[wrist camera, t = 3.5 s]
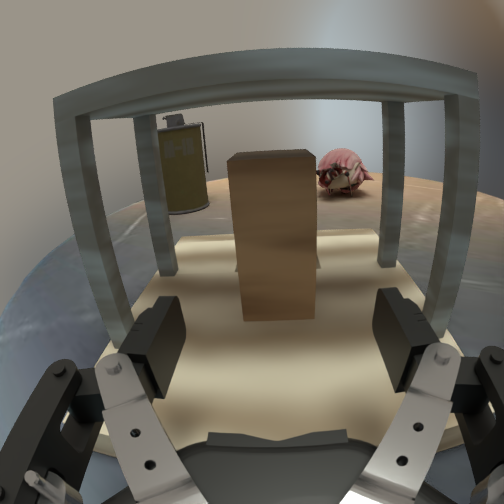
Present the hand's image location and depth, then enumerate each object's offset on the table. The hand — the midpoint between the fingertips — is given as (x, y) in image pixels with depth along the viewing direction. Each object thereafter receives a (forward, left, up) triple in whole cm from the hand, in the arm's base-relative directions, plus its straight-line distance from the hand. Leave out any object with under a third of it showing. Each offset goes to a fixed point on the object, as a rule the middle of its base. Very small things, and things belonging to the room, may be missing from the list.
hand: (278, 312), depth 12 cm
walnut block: (-8, -5, -6) cm, 11 cm away
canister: (-34, -42, -9) cm, 55 cm away
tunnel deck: (-8, -5, -9) cm, 13 cm away
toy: (-54, -14, -9) cm, 57 cm away
